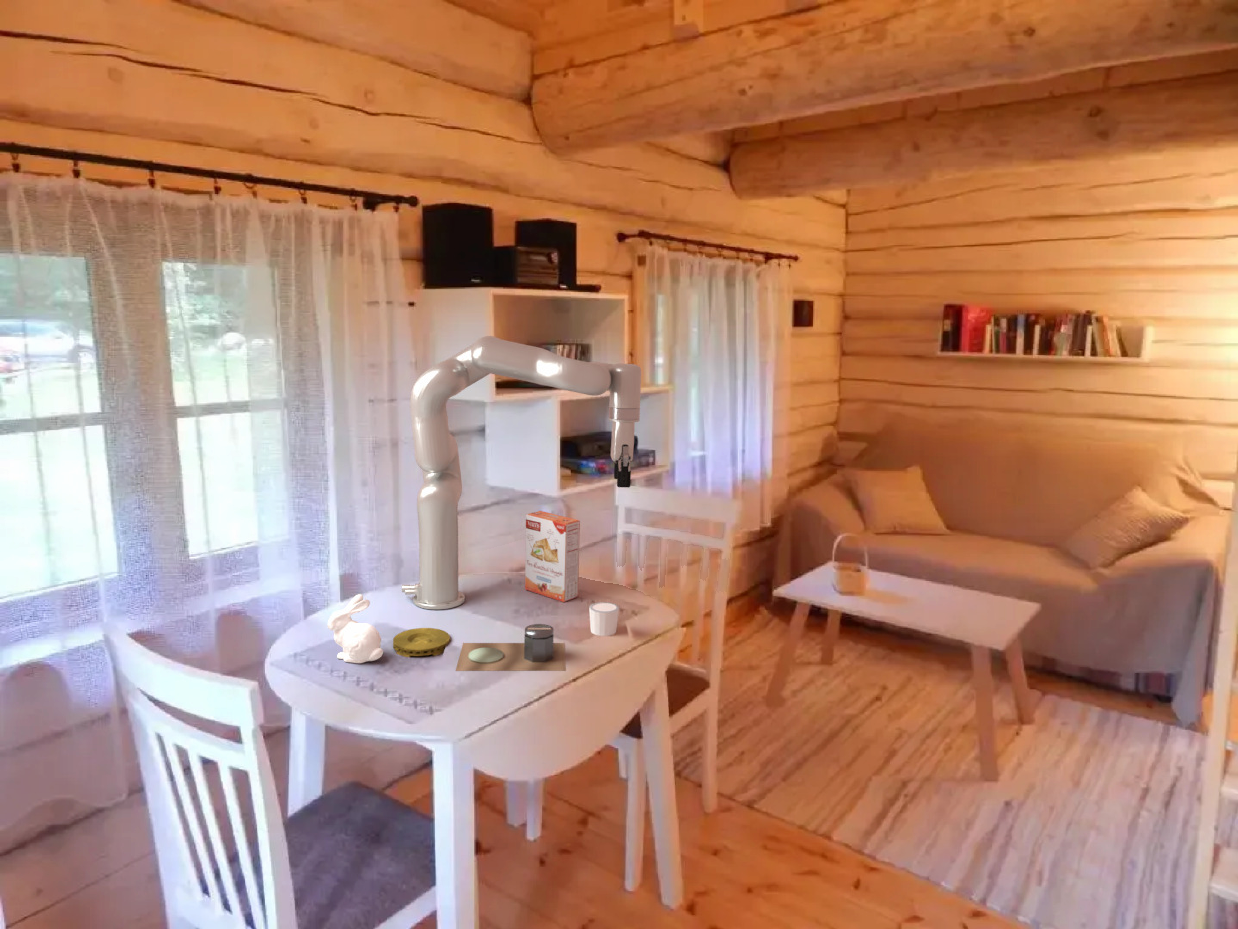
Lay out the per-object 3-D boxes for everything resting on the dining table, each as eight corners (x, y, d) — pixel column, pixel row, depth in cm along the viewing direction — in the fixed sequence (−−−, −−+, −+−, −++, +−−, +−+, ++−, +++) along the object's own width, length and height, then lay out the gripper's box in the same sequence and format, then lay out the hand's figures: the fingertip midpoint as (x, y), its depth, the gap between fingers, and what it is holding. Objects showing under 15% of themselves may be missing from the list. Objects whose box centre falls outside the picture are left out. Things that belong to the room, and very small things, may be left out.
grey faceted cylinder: (523, 662, 170) (524, 634, 169) (524, 650, 176) (525, 623, 175) (553, 662, 171) (553, 634, 170) (553, 650, 177) (553, 623, 175)
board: (455, 676, 165) (455, 649, 164) (463, 648, 179) (463, 623, 178) (565, 676, 167) (565, 649, 166) (564, 648, 181) (564, 623, 180)
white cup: (601, 628, 193) (602, 599, 192) (624, 635, 189) (625, 607, 188) (582, 636, 188) (582, 607, 187) (605, 644, 184) (606, 614, 182)
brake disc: (392, 661, 172) (392, 651, 172) (394, 638, 184) (393, 629, 183) (450, 657, 175) (450, 647, 175) (448, 635, 187) (448, 626, 186)
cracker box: (523, 590, 217) (524, 513, 213) (539, 585, 221) (540, 509, 218) (563, 603, 208) (565, 523, 205) (579, 597, 213) (581, 519, 209)
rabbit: (323, 658, 172) (321, 603, 170) (355, 642, 180) (353, 590, 178) (369, 670, 167) (368, 614, 165) (399, 653, 175) (398, 599, 173)
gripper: (606, 409, 210) (604, 475, 213) (611, 418, 193) (609, 490, 196) (636, 410, 210) (633, 476, 214) (643, 419, 193) (640, 490, 197)
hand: (621, 482), depth 205 cm, fingers open, 9 cm apart
